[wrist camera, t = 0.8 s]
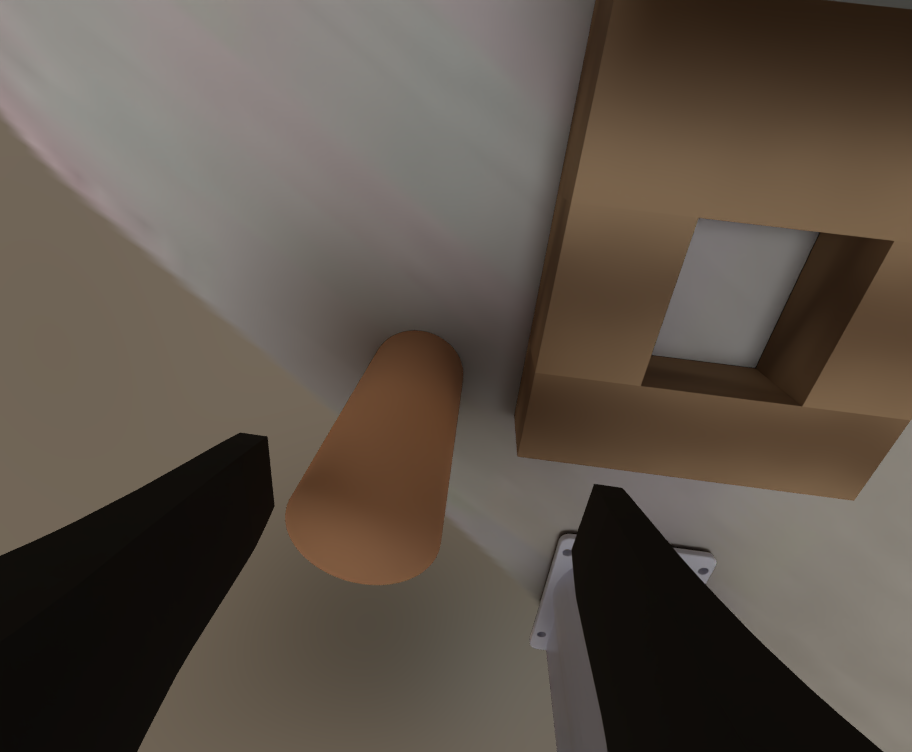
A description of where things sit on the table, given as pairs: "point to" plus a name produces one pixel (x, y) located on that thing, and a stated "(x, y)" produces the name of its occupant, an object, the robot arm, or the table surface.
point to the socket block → (737, 200)
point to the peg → (384, 467)
